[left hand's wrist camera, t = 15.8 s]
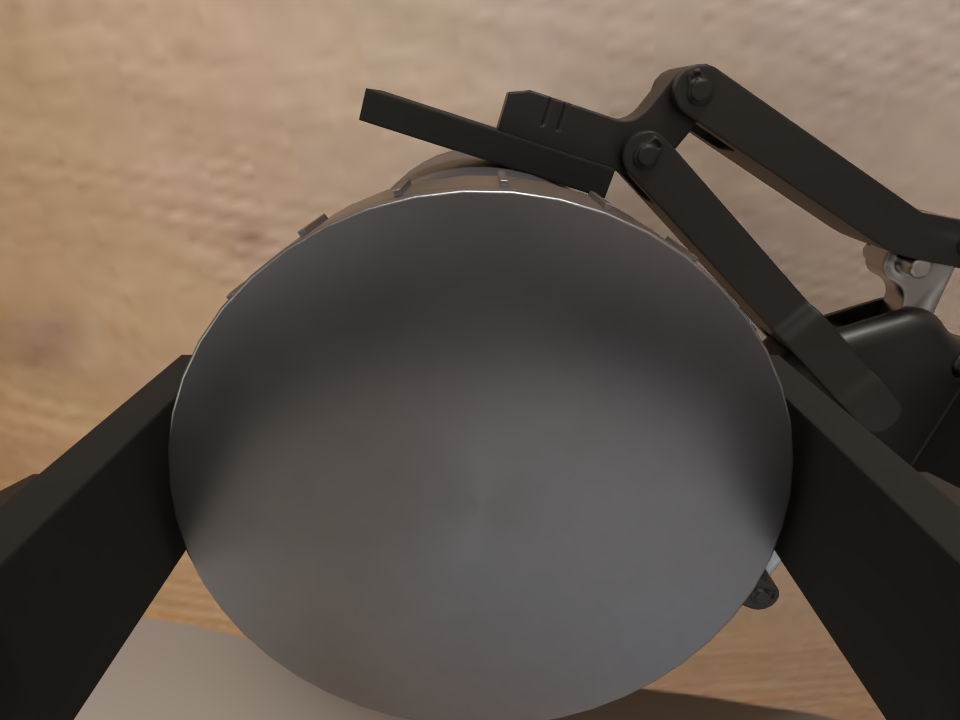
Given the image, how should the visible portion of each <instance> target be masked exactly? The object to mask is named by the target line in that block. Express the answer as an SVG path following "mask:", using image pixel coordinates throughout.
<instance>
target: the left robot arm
mask: <svg viewBox="0 0 960 720" xmlns="http://www.w3.org/2000/svg"><path fill="white" fill-rule="evenodd" d="M191 357H192V355H181V356H180V357H179V358H177V359H176V360H175V361H174V362H173V363H172V364H170V365H169V366H168V367H167V368H166V369H164V370H163V371H162V372H161V373H160V374H158V375H157V376H156V377H155V378H154V379H152V380H151V381H150V382H149V383H148V384H146V385H145V386H144V387H143V388H142V389H140V390H139V391H138V392H137V393H136V394H135V395H133V396H132V397H131V398H130V399H129V400H127V401H126V402H125V403H124V404H123V405H121V406H120V407H119V408H118V409H117V410H115V411H114V412H113V413H112V414H111V415H109V416H108V417H107V418H106V419H105V420H103V421H102V422H101V423H100V424H99V425H98V426H96V427H95V428H94V429H93V430H92V431H90V432H89V433H88V434H87V435H86V436H84V437H83V438H82V439H81V440H80V441H78V442H77V443H76V444H75V445H74V446H72V447H71V448H70V449H69V450H68V451H66V452H65V453H64V454H63V455H62V456H61V457H59V458H58V459H57V460H56V461H55V462H53V463H52V464H51V465H50V466H49V467H47V468H46V469H45V470H44V471H43V472H41V473H40V474H33V475H31V476H29V477H27V478H25V479H23V480H21V481H19V482H17V483H15V484H13V485H11V486H9V487H7V488H5V489H3V490H1V491H0V720H74V718H75V717H76V715H77V714H78V712H79V711H80V709H81V708H82V706H83V705H84V703H85V702H86V700H87V699H88V697H89V696H90V694H91V693H92V691H93V690H94V688H95V687H96V685H97V684H98V682H99V681H100V679H101V678H102V676H103V675H104V673H105V671H106V670H107V668H108V667H109V665H110V664H111V662H112V661H113V659H114V658H115V656H116V655H117V653H118V652H119V650H120V649H121V647H122V646H123V644H124V643H125V641H126V640H127V638H128V637H129V635H130V634H131V632H132V631H133V629H134V627H135V626H136V625H137V623H138V622H139V620H140V619H141V617H142V616H143V614H144V613H145V611H146V609H147V608H148V606H149V605H150V603H151V602H152V600H153V599H154V597H155V596H156V594H157V593H158V591H159V590H160V588H161V587H162V585H163V584H164V582H165V581H166V579H167V578H168V576H169V575H170V573H171V572H172V570H173V569H174V567H175V566H176V564H177V563H178V561H179V560H180V558H181V557H182V555H183V554H184V552H185V550H186V547H185V544H184V542H183V539H182V536H181V533H180V530H179V527H178V524H177V521H176V518H175V513H174V508H173V503H172V497H171V492H170V487H169V469H168V443H169V434H170V426H171V418H172V411H173V407H174V404H175V400H176V397H177V393H178V390H179V386H180V383H181V379H182V376H183V374H184V372H185V369H186V367H187V365H188V363H189V361H190V359H191ZM770 357H771V360H772V362H773V365H774V367H775V370H776V372H777V374H778V377H779V379H780V382H781V384H782V387H783V391H784V396H785V400H786V404H787V408H788V412H789V417H790V421H791V431H792V445H793V458H794V460H793V473H792V485H791V495H790V500H789V504H788V508H787V512H786V517H785V521H784V525H783V529H782V531H781V534H780V536H779V539H778V542H777V544H776V547H775V549H774V550H775V552H776V553H777V555H778V557H779V558H780V560H781V561H782V563H783V564H784V566H785V567H786V569H787V570H788V572H789V573H790V575H791V576H792V578H793V579H794V581H795V582H796V584H797V585H798V587H799V588H800V590H801V591H802V593H803V594H804V596H805V597H806V599H807V600H808V602H809V603H810V605H811V606H812V608H813V609H814V611H815V612H816V614H817V616H818V617H819V619H820V620H821V622H822V623H823V625H824V626H825V628H826V629H827V631H828V632H829V634H830V635H831V637H832V638H833V640H834V641H835V643H836V644H837V646H838V647H839V649H840V650H841V652H842V653H843V655H844V656H845V658H846V659H847V661H848V662H849V664H850V665H851V667H852V668H853V670H854V671H855V673H856V674H857V676H858V678H859V679H860V681H861V682H862V684H863V685H864V687H865V688H866V690H867V691H868V693H869V694H870V696H871V697H872V699H873V700H874V702H875V703H876V705H877V706H878V708H879V709H880V711H881V712H882V714H883V715H884V717H885V718H886V720H960V488H958V487H956V486H954V485H952V484H950V483H948V482H946V481H944V480H942V479H940V478H938V477H936V476H934V475H932V474H930V473H929V472H917V471H916V470H915V469H914V468H913V467H911V466H910V465H909V464H908V463H907V462H905V461H904V460H903V459H902V458H901V457H900V456H898V455H897V454H896V453H895V452H894V451H892V450H891V449H890V448H889V447H888V446H886V445H885V444H884V443H883V442H882V441H880V440H879V439H878V438H877V437H876V436H874V435H873V434H872V433H871V432H870V431H868V430H867V429H866V428H865V427H864V426H863V425H861V424H860V423H859V422H858V421H857V420H855V419H854V418H853V417H852V416H851V415H849V414H848V413H847V412H846V411H845V410H843V409H842V408H841V407H840V406H839V405H837V404H836V403H835V402H834V401H833V400H831V399H830V398H829V397H828V396H827V395H826V394H824V393H823V392H822V391H821V390H820V389H818V388H817V387H816V386H815V385H814V384H812V383H811V382H810V381H809V380H808V379H806V378H805V377H804V376H803V375H802V374H800V373H799V372H798V371H797V370H796V369H794V368H793V367H792V366H791V365H790V364H789V363H787V362H786V361H785V360H784V359H783V358H781V357H780V356H779V355H770Z"/></svg>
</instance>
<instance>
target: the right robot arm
mask: <svg viewBox="0 0 960 720" xmlns="http://www.w3.org/2000/svg"><path fill="white" fill-rule="evenodd" d="M359 120H361V121H364V122H367V123H371V124H374V125H377V126H380V127H383V128H386V129H389V130H392V131H396V132H399V133H402V134H405V135H408V136H411V137H414V138H417V139H421V140H424V141H427V142H430V143H433V144H436V145H439V146H442V147H446V148H449V149H452V150H455V151H458V152H461V153H464V154H467V155H471V156H474V157H477V158H480V159H483V160H486V161H489V162H492V163H495V164H499V165H502V166H505V167H508V168H511V169H514V170H517V171H520V172H524V173H527V174H530V175H534V176H536V177H539V178H542V179H545V180H549V181H552V182H555V183H558V184H561V185H564V186H567V187H570V188H574V189H577V190H580V191H583V192H586V193H589V192H590V191H593V192H595V193H597V194H598V195H599V196H601V197H602V198H605V196H606V193H607V190H608V187H609V185H610V182H611V179H612V177H613V174H614V171H617V172H618V173H619V174H620V175H621V176H622V178H623V179H624V180H625V181H626V182H627V183H628V184H629V185H630V186H631V187H632V189H633V190H634V191H635V192H636V193H637V194H638V195H639V196H640V197H641V198H642V199H643V201H644V202H645V203H646V204H647V205H648V206H649V207H650V208H651V209H652V210H653V211H654V213H655V214H656V215H657V216H658V217H659V218H660V219H661V220H662V221H663V222H664V224H665V225H666V226H667V227H668V228H669V229H670V230H671V231H672V232H673V233H674V234H675V236H676V237H677V238H678V239H679V240H680V241H681V242H682V243H683V244H684V245H685V246H686V248H687V249H688V250H689V251H690V252H691V253H693V254H694V255H695V256H696V257H698V259H697V260H698V261H699V262H700V263H701V264H702V265H703V266H704V267H705V268H706V269H707V271H708V272H709V273H710V274H711V275H712V276H713V277H714V278H715V279H716V280H717V281H718V283H719V284H720V285H721V286H722V287H723V288H724V289H725V290H726V291H727V292H728V293H729V295H730V296H731V297H732V298H733V299H734V300H735V301H736V302H737V303H738V305H739V306H740V308H741V309H742V311H743V312H744V313H745V314H746V315H747V316H748V317H749V318H750V319H751V320H752V322H753V323H754V324H755V325H756V326H757V327H758V328H759V329H760V330H761V331H762V332H763V334H764V335H765V336H766V337H767V338H766V339H764V340H763V341H762V342H763V344H764V345H765V347H766V349H767V350H768V353H769V355H779V356H780V357H781V358H783V359H784V360H785V361H786V362H787V363H789V364H790V365H791V366H792V367H793V368H794V369H796V370H797V371H798V372H799V373H800V374H802V375H803V376H804V377H805V378H806V379H808V380H809V381H810V382H811V383H812V384H814V385H815V386H816V387H817V388H818V389H820V390H821V391H822V392H823V393H824V394H826V395H827V396H828V397H829V398H830V399H831V400H833V401H834V402H835V403H836V404H837V405H839V406H840V407H841V408H842V409H843V410H845V411H846V412H847V413H848V414H849V415H851V416H852V417H853V418H854V419H855V420H857V421H858V422H859V423H860V424H861V425H863V426H864V427H865V428H866V429H867V430H868V431H870V432H871V433H872V434H873V435H874V436H876V437H877V438H878V439H879V440H880V441H882V442H883V443H884V444H885V445H886V446H888V447H889V448H890V449H891V450H892V451H894V452H895V453H896V454H897V455H898V456H900V457H901V458H902V459H903V460H904V461H905V462H907V463H908V464H909V465H910V466H911V467H913V468H914V469H915V470H916V471H917V472H929V473H930V474H932V475H934V476H936V477H938V478H940V479H942V480H944V481H946V482H948V483H950V484H952V485H954V486H956V487H958V488H960V336H958V335H955V334H952V333H950V332H949V331H948V330H947V329H946V328H945V326H944V325H943V323H942V322H941V321H940V319H939V318H938V317H937V316H935V315H934V314H933V313H934V310H935V308H936V306H937V304H938V302H939V300H940V298H941V296H942V293H943V291H944V289H945V287H946V285H947V283H948V281H949V278H950V276H951V274H952V272H953V270H954V268H955V267H957V268H960V219H957V218H952V217H948V216H944V215H940V214H936V213H931V212H927V211H923V210H918V209H916V208H914V207H913V206H911V205H910V204H909V203H907V202H906V201H904V200H903V199H901V198H900V197H899V196H897V195H896V194H894V193H893V192H891V191H890V190H889V189H887V188H886V187H884V186H883V185H881V184H880V183H879V182H877V181H876V180H874V179H873V178H872V177H870V176H869V175H867V174H866V173H864V172H863V171H862V170H860V169H859V168H857V167H856V166H854V165H853V164H852V163H850V162H849V161H847V160H846V159H844V158H843V157H842V156H840V155H839V154H837V153H836V152H835V151H833V150H832V149H830V148H829V147H827V146H826V145H825V144H823V143H822V142H820V141H819V140H817V139H816V138H815V137H813V136H812V135H810V134H809V133H807V132H806V131H805V130H803V129H802V128H800V127H799V126H798V125H796V124H795V123H793V122H792V121H790V120H789V119H788V118H786V117H785V116H783V115H782V114H780V113H779V112H778V111H776V110H775V109H773V108H772V107H770V106H769V105H768V104H766V103H765V102H763V101H762V100H760V99H759V98H758V97H756V96H755V95H753V94H752V93H751V92H749V91H748V90H746V89H745V88H743V87H742V86H741V85H739V84H738V83H736V82H735V81H733V80H732V79H731V78H729V77H728V76H726V75H725V74H723V73H722V72H721V71H719V70H718V69H716V68H715V67H713V66H710V65H708V64H697V65H691V66H686V67H681V68H675V69H670V70H667V71H665V72H663V73H661V74H660V75H659V77H658V78H657V79H656V80H655V81H654V84H653V86H652V89H651V91H650V92H649V94H648V95H647V96H646V98H645V99H644V100H643V101H642V103H641V104H640V105H639V106H638V108H637V109H636V110H635V111H634V112H633V113H631V114H629V115H628V116H626V117H623V118H620V119H615V118H612V117H609V116H606V115H603V114H600V113H597V112H594V111H591V110H588V109H585V108H582V107H579V106H576V105H573V104H570V103H567V102H564V101H561V100H558V99H555V98H552V97H549V96H546V95H543V94H540V93H537V92H534V91H531V90H526V91H515V92H508V93H507V94H506V97H505V101H504V104H503V107H502V111H501V114H500V117H499V121H498V124H497V128H495V127H492V126H489V125H486V124H482V123H479V122H476V121H473V120H470V119H467V118H464V117H461V116H458V115H455V114H452V113H449V112H446V111H443V110H440V109H437V108H433V107H430V106H427V105H424V104H421V103H418V102H415V101H412V100H409V99H406V98H403V97H400V96H397V95H394V94H391V93H388V92H385V91H381V90H374V89H367V88H366V91H365V95H364V100H363V104H362V109H361V114H360V118H359ZM689 132H690V133H691V134H693V135H694V136H696V137H697V138H699V139H700V140H702V141H703V142H705V143H706V144H708V145H709V146H711V147H712V148H714V149H715V150H717V151H718V152H720V153H721V154H722V155H724V156H725V157H727V158H728V159H730V160H731V161H733V162H734V163H736V164H737V165H739V166H740V167H742V168H743V169H745V170H746V171H748V172H749V173H751V174H752V175H754V176H755V177H757V178H758V179H760V180H761V181H763V182H764V183H766V184H767V185H769V186H770V187H772V188H773V189H775V190H776V191H778V192H779V193H781V194H782V195H784V196H785V197H786V198H788V199H789V200H791V201H792V202H794V203H795V204H797V205H798V206H800V207H801V208H803V209H804V210H806V211H807V212H809V213H810V214H812V215H813V216H815V217H816V218H818V219H819V220H821V221H822V222H824V223H825V224H827V225H828V226H830V227H831V228H833V229H835V230H837V231H838V232H840V233H842V234H844V235H847V236H849V237H852V238H854V239H857V240H860V241H862V242H865V243H867V244H866V245H865V247H864V248H863V256H864V257H865V258H866V265H867V268H868V269H869V270H870V271H871V272H873V273H874V274H876V275H878V276H880V277H881V278H882V279H883V280H884V283H885V285H886V292H885V296H884V298H878V299H874V300H871V301H868V302H864V303H861V304H858V305H855V306H851V307H848V308H845V309H842V310H838V311H835V312H832V313H829V314H825V315H823V314H821V313H820V312H819V311H818V310H817V309H816V308H815V307H814V306H812V305H811V304H810V303H809V302H808V301H807V300H806V299H805V298H804V297H803V296H802V295H801V293H800V292H799V291H798V290H797V289H796V288H795V287H794V285H793V284H792V283H791V282H790V281H789V280H788V279H787V277H786V276H785V275H784V274H783V273H782V272H781V270H780V269H779V268H778V267H777V266H776V265H775V264H774V262H773V261H772V260H771V259H770V258H769V257H768V256H767V254H766V253H765V252H764V251H763V250H762V249H761V248H760V246H759V245H758V244H757V243H756V242H755V241H754V239H753V238H752V237H751V236H750V235H749V234H748V233H747V231H746V230H745V229H744V228H743V227H742V226H741V225H740V223H739V222H738V221H737V220H736V219H735V218H734V217H733V215H732V214H731V213H730V212H729V211H728V210H727V208H726V207H725V206H724V205H723V204H722V203H721V202H720V200H719V199H718V198H717V197H716V196H715V195H714V194H713V192H712V191H711V190H710V189H709V188H708V187H707V186H706V184H705V183H704V182H703V181H702V180H701V179H700V177H699V176H698V175H697V174H696V173H695V172H694V171H693V169H692V168H691V167H690V166H689V165H688V164H687V163H686V161H685V160H684V159H683V158H682V157H681V156H680V155H679V153H678V152H677V151H676V150H675V148H676V147H677V146H678V145H679V144H680V142H681V141H682V140H683V139H684V138H685V136H686V135H687V134H688V133H689ZM780 562H781V560H780V558H779V557H778V555H777V553H776V552H775V550H774V552H773V554H772V557H771V559H770V561H769V563H768V565H767V567H766V568H765V570H764V572H763V574H762V575H761V577H760V579H759V581H758V583H757V584H756V586H755V588H754V590H753V591H752V592H751V594H750V595H749V596H748V598H747V599H746V600H745V602H744V603H743V604H742V605H744V606H746V607H749V608H752V609H765V608H767V607H770V606H772V605H773V604H774V603H775V602H776V601H777V599H778V597H779V590H778V588H777V587H776V585H775V583H774V582H773V580H772V578H771V577H770V575H771V574H772V572H773V571H774V570H775V568H776V567H777V566H778V564H779V563H780Z"/></svg>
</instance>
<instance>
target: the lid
mask: <svg viewBox="0 0 960 720" xmlns="http://www.w3.org/2000/svg"><path fill="white" fill-rule="evenodd" d="M298 234H299V235H300V237H299V238H298V239H297V240H295V241H294V242H293V243H291V244H290V245H289V246H287V247H286V248H284V249H283V250H282V251H281V252H279V253H278V254H277V255H276V256H274V257H273V258H272V259H271V260H269V261H268V262H267V263H266V264H265V265H263V266H262V267H261V268H260V269H258V270H257V271H256V272H255V273H253V274H252V275H251V276H250V277H249V278H248V279H247V280H246V281H245V282H243V283H242V284H241V285H239V286H238V287H237V288H235V289H234V290H233V291H231V292H230V293H229V294H228V296H227V297H226V298H228V301H227V302H226V303H225V304H224V305H223V306H222V307H221V309H220V310H219V312H218V313H217V315H216V316H215V318H214V319H213V320H212V322H211V323H210V325H209V326H208V328H207V329H206V331H205V332H204V334H203V335H202V337H201V338H200V340H199V342H198V344H197V346H196V348H195V350H194V352H193V354H192V357H191V359H190V361H189V363H188V365H187V367H186V369H185V372H184V374H183V376H182V379H181V383H180V386H179V390H178V393H177V397H176V400H175V404H174V407H173V411H172V418H171V426H170V434H169V443H168V469H169V487H170V492H171V497H172V503H173V508H174V513H175V518H176V521H177V524H178V527H179V530H180V533H181V536H182V539H183V542H184V544H185V547H186V550H187V552H188V554H189V556H190V558H191V560H192V562H193V564H194V566H195V568H196V570H197V572H198V574H199V576H200V578H201V580H202V582H203V583H204V585H205V586H206V587H207V589H208V590H209V592H210V593H211V595H212V596H213V597H214V599H215V600H216V602H217V603H218V605H219V606H220V608H221V609H222V610H223V611H224V612H225V614H226V615H227V616H228V617H229V618H230V619H231V620H232V621H233V622H234V624H235V625H236V626H237V627H238V628H239V629H240V630H241V631H242V632H243V634H244V635H246V636H247V637H248V638H249V639H250V640H251V641H252V642H253V643H255V644H256V645H257V646H258V647H259V648H260V649H261V650H263V651H264V652H265V653H266V654H267V655H268V656H269V657H271V658H272V659H274V660H275V661H277V662H278V663H279V664H281V665H282V666H284V667H285V668H287V669H288V670H290V671H291V672H292V673H294V674H295V675H297V676H298V677H300V678H302V679H304V680H306V681H308V682H309V683H311V684H313V685H315V686H317V687H318V688H320V689H322V690H324V691H326V692H328V693H330V694H332V695H335V696H337V697H340V698H342V699H344V700H347V701H349V702H352V703H354V704H356V705H359V706H362V707H365V708H369V709H372V710H375V711H378V712H382V713H385V714H388V715H391V716H396V717H401V718H406V719H411V720H550V719H556V718H561V717H565V716H568V715H572V714H575V713H579V712H583V711H586V710H590V709H593V708H596V707H599V706H601V705H604V704H606V703H609V702H612V701H614V700H617V699H619V698H622V697H624V696H627V695H629V694H631V693H632V692H634V691H636V690H638V689H640V688H642V687H644V686H646V685H648V684H650V683H652V682H654V681H656V680H657V679H659V678H660V677H662V676H664V675H665V674H667V673H668V672H670V671H671V670H673V669H674V668H676V667H677V666H679V665H680V664H682V663H684V662H685V661H686V660H687V659H688V658H690V657H691V656H692V655H693V654H695V653H696V652H697V651H698V650H699V649H701V648H702V647H703V646H704V645H706V644H707V643H708V642H709V641H710V640H711V639H712V638H713V637H714V636H715V635H716V634H717V633H718V632H719V631H720V630H721V629H722V628H723V627H724V626H725V625H726V624H727V623H728V622H729V621H730V619H731V618H732V617H733V616H734V615H735V614H736V612H737V611H738V610H739V608H740V607H741V606H742V604H743V603H744V602H745V600H746V599H747V598H748V596H749V595H750V594H751V592H752V591H753V590H754V588H755V586H756V584H757V583H758V581H759V579H760V577H761V575H762V574H763V572H764V570H765V568H766V567H767V565H768V563H769V561H770V559H771V557H772V554H773V552H774V549H775V547H776V544H777V542H778V539H779V536H780V534H781V531H782V529H783V525H784V521H785V517H786V512H787V508H788V504H789V500H790V495H791V485H792V473H793V460H794V458H793V445H792V431H791V421H790V417H789V412H788V408H787V404H786V400H785V396H784V391H783V387H782V384H781V382H780V379H779V377H778V374H777V372H776V370H775V367H774V365H773V362H772V360H771V357H770V355H769V353H768V350H767V349H766V347H765V345H764V344H763V342H762V340H761V339H760V337H759V336H758V334H757V332H756V328H755V326H754V325H753V324H752V323H751V322H750V321H749V319H748V318H747V316H746V315H745V314H744V312H743V311H742V310H741V309H740V308H739V306H738V305H737V304H736V303H735V302H734V301H733V299H732V298H731V297H730V296H729V295H728V294H727V292H726V291H725V290H724V289H723V288H722V286H721V285H720V284H719V283H718V282H717V281H715V280H714V279H713V278H712V277H711V276H710V275H708V274H707V273H706V272H705V271H704V270H703V269H702V268H700V267H699V266H698V265H697V264H696V263H695V261H696V260H697V259H698V257H696V256H695V255H694V254H693V253H691V252H690V251H688V250H687V249H686V248H684V247H683V246H681V245H680V244H678V243H677V242H675V241H674V240H673V239H671V238H670V237H667V238H666V239H663V238H662V237H661V236H659V235H658V234H656V233H655V232H654V231H652V230H651V229H649V228H648V227H646V226H644V225H643V224H641V223H640V222H638V221H637V220H635V219H634V218H632V217H630V216H629V215H627V214H626V213H624V212H623V211H621V210H619V209H617V208H615V207H612V205H611V204H610V203H609V202H607V201H606V200H605V199H603V198H602V197H601V196H599V195H598V194H597V193H595V192H593V191H590V192H589V194H588V195H586V194H583V193H580V192H577V191H573V190H570V189H567V188H563V187H560V186H557V185H554V184H550V183H547V182H540V181H534V180H528V179H521V178H515V177H508V176H506V174H505V171H498V176H467V175H466V176H457V177H449V178H440V179H432V180H424V181H420V182H417V183H413V184H411V180H410V179H406V180H403V181H402V182H401V183H400V184H399V185H398V186H397V187H396V188H393V189H390V190H386V191H383V192H381V193H379V194H376V195H374V196H371V197H369V198H366V199H364V200H362V201H359V202H357V203H354V204H352V205H350V206H348V207H346V208H344V209H343V210H341V211H339V212H338V213H336V214H334V215H333V216H331V217H329V218H327V216H326V215H325V214H323V215H321V216H320V217H318V218H317V219H316V220H314V221H313V222H311V223H310V224H308V225H307V226H306V227H304V228H303V229H301V230H300V231H298Z"/></svg>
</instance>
